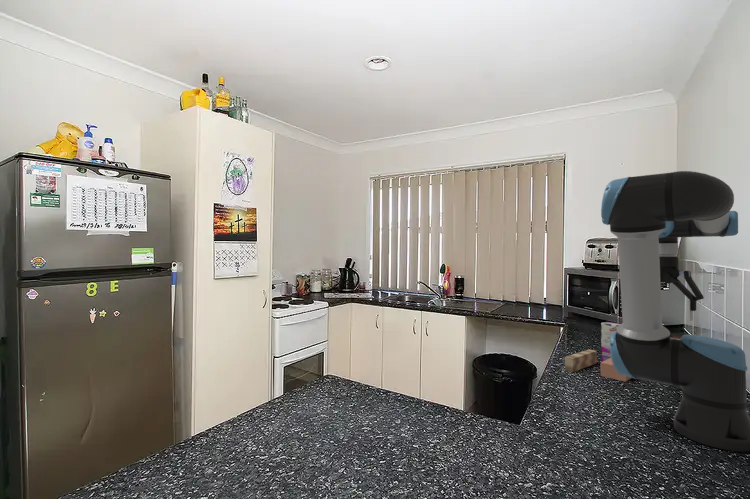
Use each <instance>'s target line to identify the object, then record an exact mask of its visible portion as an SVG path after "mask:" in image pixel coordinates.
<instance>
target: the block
mask: <svg viewBox="0 0 750 499" xmlns="http://www.w3.org/2000/svg"><path fill="white" fill-rule="evenodd" d="M599 365H600V376H601V377H604V378H609V379H613V380H617V381H623V382H628V381H629V380H631V379H632V377H628V376H624V375H621V374H619V373H618V372H617V371H616V369H615V368H614V366H613V363H612V359H611V358H609V359H607V360H605V361H603V362H600V364H599Z"/></svg>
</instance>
